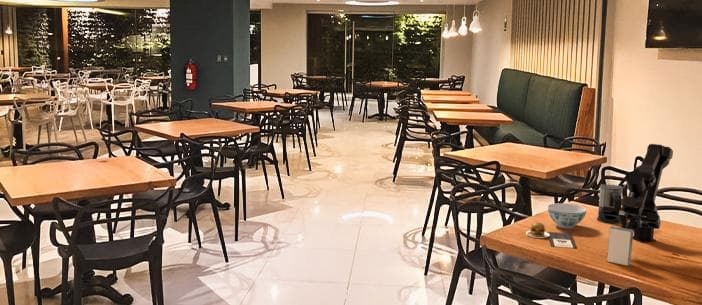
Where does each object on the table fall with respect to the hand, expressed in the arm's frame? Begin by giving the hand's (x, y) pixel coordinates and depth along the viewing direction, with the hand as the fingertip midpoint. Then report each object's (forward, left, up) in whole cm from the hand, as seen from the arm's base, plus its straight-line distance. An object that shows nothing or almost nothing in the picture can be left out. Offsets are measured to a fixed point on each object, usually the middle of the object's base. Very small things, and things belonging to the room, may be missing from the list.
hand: (624, 237), depth 220 cm
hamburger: (+12, -32, -8) cm, 35 cm away
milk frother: (-33, -38, -8) cm, 51 cm away
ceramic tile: (+4, +3, -8) cm, 9 cm away
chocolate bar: (+7, -24, -9) cm, 26 cm away
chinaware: (-7, -39, -8) cm, 40 cm away
